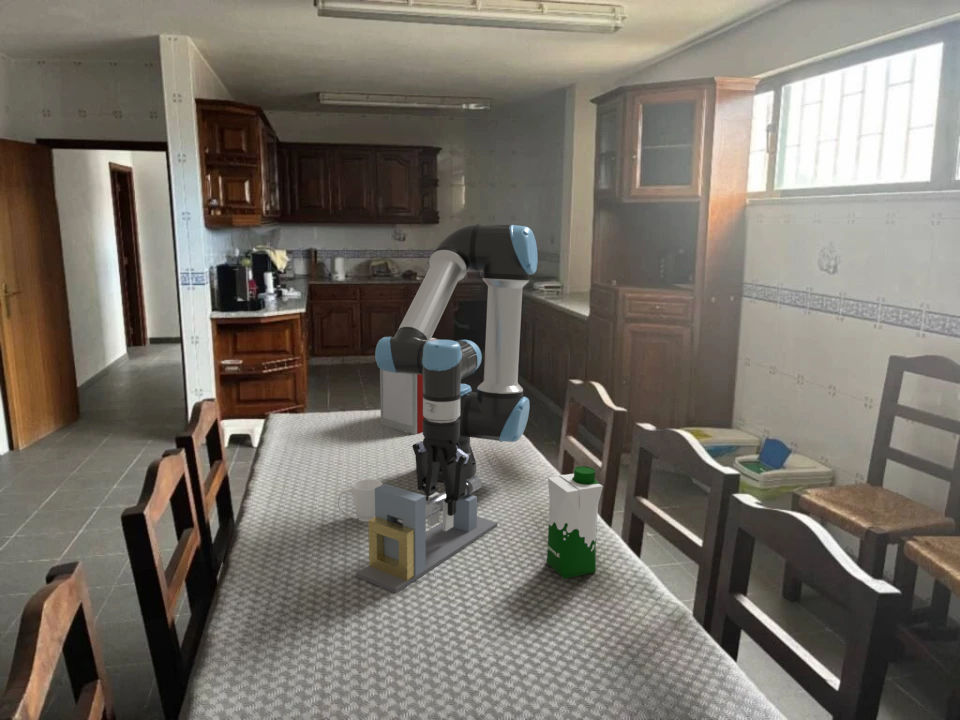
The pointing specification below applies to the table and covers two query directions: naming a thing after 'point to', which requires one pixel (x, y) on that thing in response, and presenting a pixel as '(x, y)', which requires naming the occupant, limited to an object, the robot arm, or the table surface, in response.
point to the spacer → (406, 548)
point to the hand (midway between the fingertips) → (440, 525)
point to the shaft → (437, 501)
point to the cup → (363, 498)
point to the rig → (423, 533)
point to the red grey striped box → (402, 400)
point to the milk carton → (573, 522)
